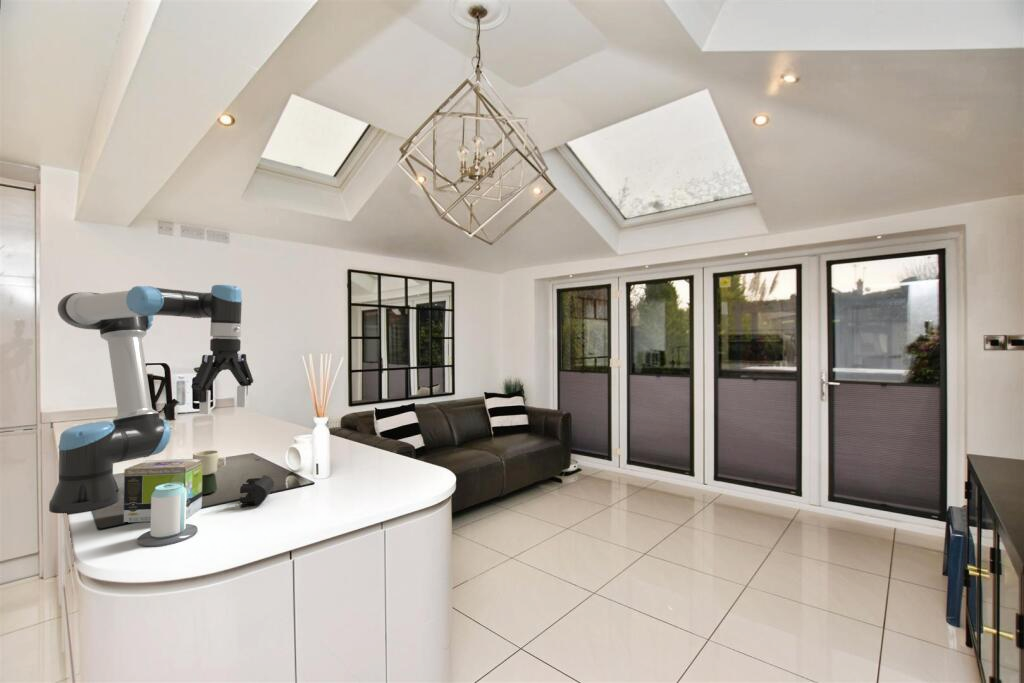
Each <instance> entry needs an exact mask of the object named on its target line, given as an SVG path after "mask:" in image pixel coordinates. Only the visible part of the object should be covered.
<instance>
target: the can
mask: <svg viewBox="0 0 1024 683" xmlns="http://www.w3.org/2000/svg"><path fill="white" fill-rule="evenodd" d="M183 485H184V484H183V483H167V484H162V485H159V486H157V487H155V491H154V492H153V493H152V495H151V521H150V530H149V531H150V535H151V536H153V537H155V538H168V537H172V536H175V535H178V534H180V533H181V532H182V531H183V530H185V528H186V524H187V518H186V495H187V490H186V488H185V487H184V486H183Z"/></svg>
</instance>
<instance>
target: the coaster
mask: <svg viewBox="0 0 1024 683" xmlns="http://www.w3.org/2000/svg"><path fill="white" fill-rule="evenodd" d="M197 533H198V527H197V525H194V524H189V523H186V528H185V530H183V531H182V532H181V533H180V534H178V535H175V536H172V537H168V538H155V537H153V536H151V535H150V530H148V531H146V532H144V533H142V534H140V535H139V536H138V537H137V539H136V540H137V542H136V543H137V545H138V546H140V547H145V548H157V547H164V546H169V545H173V544H174V545H175V544H177V543H181V542H183V541H186V540H188V539H190V538H193V537H194V536H195V535H196V534H197Z"/></svg>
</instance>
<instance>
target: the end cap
mask: <svg viewBox="0 0 1024 683" xmlns="http://www.w3.org/2000/svg"><path fill="white" fill-rule="evenodd" d="M274 487H275V483H274V480H273V478H272V477H271V476H269V475H262V476H261V477H255V478H248V479H247V480H246V481H245V483H242V485H240V488H239V494H246V495H245V496H242V497H241V496H240V497H239V504H240V505H239V507H240V508H241V509H244V508H256V507H258V506H260V505H261V504H262V503H263V502H264V501H265V500H266V499H267V498H268V496H269V494H271V491H272V490H273V489H274Z"/></svg>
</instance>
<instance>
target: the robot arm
mask: <svg viewBox="0 0 1024 683" xmlns="http://www.w3.org/2000/svg"><path fill="white" fill-rule="evenodd" d="M242 305H243V300H242V289H241V288H240V287H239V286H236V285H230V284H214V285H212V286H211V290H210V292H200V291H190V290H189V291H188V290H179V289H170V288H163V287H162V288H161V287H155V286H149V285H145V286H143V285H136V286H133V287H132V288H130V290H122V291H114V292H105V293H103V292H102V293H98V292H89V291H88V292H87V291H82V292H81V291H80V292H79V291H78V292H72V293H69V294H67V295H65V296H63V297H62V298H61V299H60V301H59V302H58V304H57V313H58V316H59V317H60V319H61V320H62V321H64V322H65V323H66V324H67V325H70V326H72V327H75V328H77V329H82V330H94V331H95V330H96V331H97V330H98V331H99V333H100V338H101V339H103V340H105V341H106V342H107V346H108V353H109V361H110V367H111V374H112V380H113V382H112V383H113V387H114V388H113V389H114V395H115V401H116V410H117V415H116V416H115V417H114V418H113V419H112V421H107V420H106V421H96V422H88V423H82V424H78V425H75V426H72V427H69V428H67V429H65V430H64V431H62V432H61V434H60V437H59V444H58V482H57V485H56V487H55V489H54V492H53V494H52V497H51V499H50V501H49V503H48V506H49V507H48V510H49V512H50V513H53V514H75V513H82V512H88V511H94V510H97V509H102V508H104V507H108V506H111V505H114V504H115V503H117V502H119V501H120V500H121V498H120V497H121V491H120V489H119V487H118V486H119V485H118V484H117V481H116V479H115V477H114V476H115V475H114V464H117V463H122V462H127V461H132V460H136V459H141V458H147V457H148V458H149V457H150V456H155V455H158V454H160V453H162V452H163V451H164V450H165V449H166V448H167V446H168V445H169V443H170V441H171V440H170V439H171V435H172V434H171V432H172V431H171V425H170V423H169V422H168V420H166V419H165V418H161V417H160V413H159V412H158V411H157V410H155V409H154V408H153V406H152V398H151V393H150V385H149V378H148V372H147V366H146V359H145V352H144V345H143V344H144V343H143V338H144V337H145V336H147V333H148V332H147V331H148V330H150V328H151V327H152V325H153V321H154V316H164V317H165V316H169V317H171V316H173V317H184V318H191V319H202V318H203V319H205V318H207V319H209V318H210V332H209V333H210V334H209V335H210V337H212V338H211V339H210V340H209V342H210V343H209V344H210V345H209V350H210V351H211V352H212V354H203V355H202V357H201V363H200V365H199V368H198V370H197V373H196V374H195V377H194V379H193V382H192V384H191V387H190V388H191V389H192V390H195V391H197V393H198V396H197V399H198V400H197V402H198V403H199V409H198V411H199V413H198V414H200V415H210V414H211V394H212V393H211V390H209V389H210V387H211V386H212V384H213V382H214V381H215V379H216V378H217V377H218V375H219V374H220V372H222V371H226V370H228V371H230V373H231V374H232V376H233V377H234V378H235V380H236V382H237V383H238V384H239V385H237V386H236V408H247V397H248V389H249V388H248V387H249V386H250V387H251V386H252V384H253V383H254V379H253V376H252V373H251V370H250V367H249V363H248V362H247V355H246V354H245V353H238V352H240V351H241V342H242V341H241V339H239V338H241V332H242V331H241V326H242V325H241V324H242Z"/></svg>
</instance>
